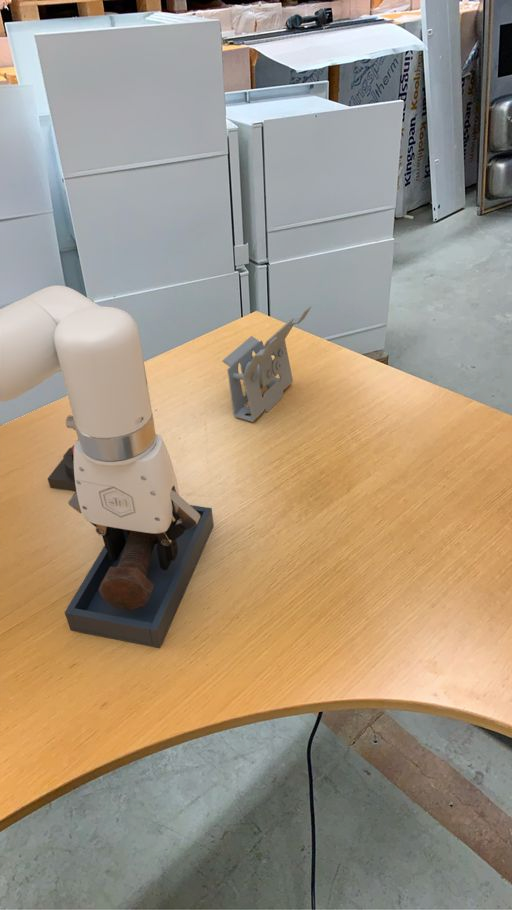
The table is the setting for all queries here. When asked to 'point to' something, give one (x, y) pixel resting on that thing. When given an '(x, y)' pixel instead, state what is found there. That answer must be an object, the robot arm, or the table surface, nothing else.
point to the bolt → (130, 573)
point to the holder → (159, 610)
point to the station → (64, 473)
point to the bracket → (260, 372)
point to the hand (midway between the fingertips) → (143, 555)
